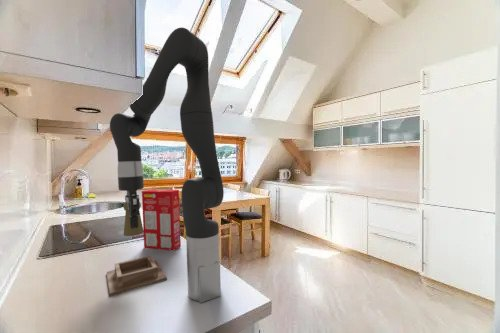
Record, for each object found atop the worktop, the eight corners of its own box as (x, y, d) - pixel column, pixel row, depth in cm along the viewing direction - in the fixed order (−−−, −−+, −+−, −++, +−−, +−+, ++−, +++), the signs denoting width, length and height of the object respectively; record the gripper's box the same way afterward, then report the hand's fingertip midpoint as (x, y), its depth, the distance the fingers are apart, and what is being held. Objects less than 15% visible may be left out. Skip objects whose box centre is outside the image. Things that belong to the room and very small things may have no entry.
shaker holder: (167, 279, 79) (166, 267, 79) (109, 295, 70) (109, 282, 70) (155, 262, 92) (155, 252, 92) (106, 274, 83) (106, 263, 83)
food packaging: (180, 245, 109) (178, 189, 108) (174, 250, 104) (172, 191, 103) (151, 243, 112) (149, 189, 111) (144, 247, 107) (141, 191, 106)
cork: (119, 234, 80) (117, 201, 80) (135, 230, 85) (134, 198, 85) (131, 236, 77) (129, 202, 77) (147, 231, 83) (145, 199, 82)
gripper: (146, 175, 77) (149, 229, 77) (139, 174, 89) (142, 221, 89) (119, 176, 73) (123, 233, 73) (116, 175, 85) (118, 224, 85)
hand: (133, 226), depth 81 cm, fingers closed on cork, 4 cm apart
